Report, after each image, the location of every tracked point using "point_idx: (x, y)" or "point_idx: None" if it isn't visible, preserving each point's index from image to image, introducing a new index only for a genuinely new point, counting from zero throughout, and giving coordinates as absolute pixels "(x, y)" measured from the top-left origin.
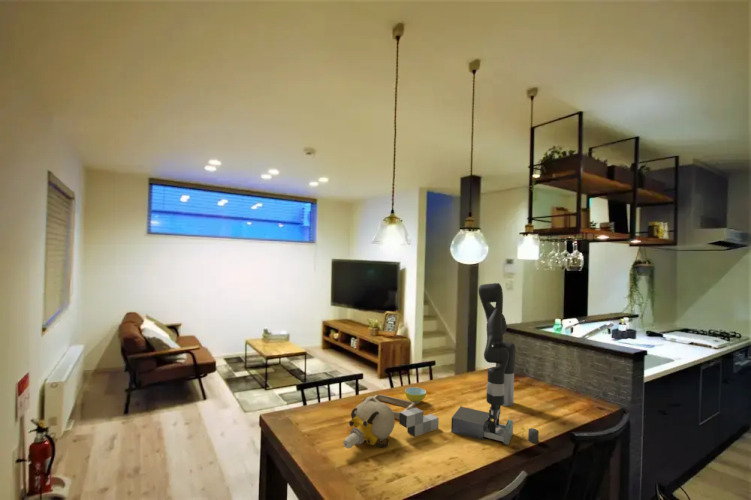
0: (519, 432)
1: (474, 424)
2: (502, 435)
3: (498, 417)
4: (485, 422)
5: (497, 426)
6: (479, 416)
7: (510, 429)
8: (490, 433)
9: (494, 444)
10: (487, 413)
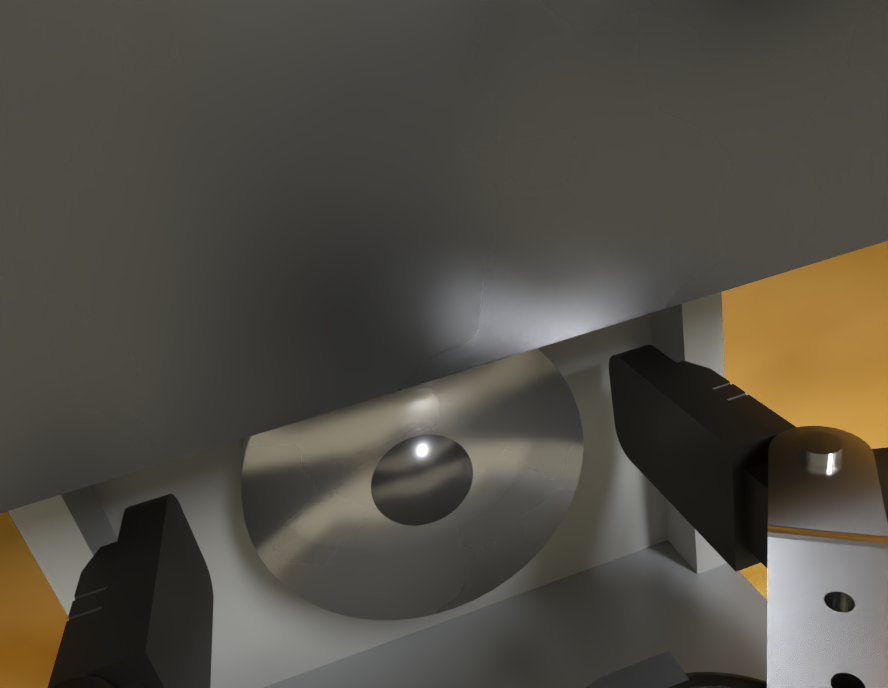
0: (763, 570)
1: None
2: (329, 622)
3: (748, 554)
4: (154, 444)
5: (519, 494)
6: (416, 48)
7: None
8: (50, 553)
9: (14, 573)
10: (883, 164)
